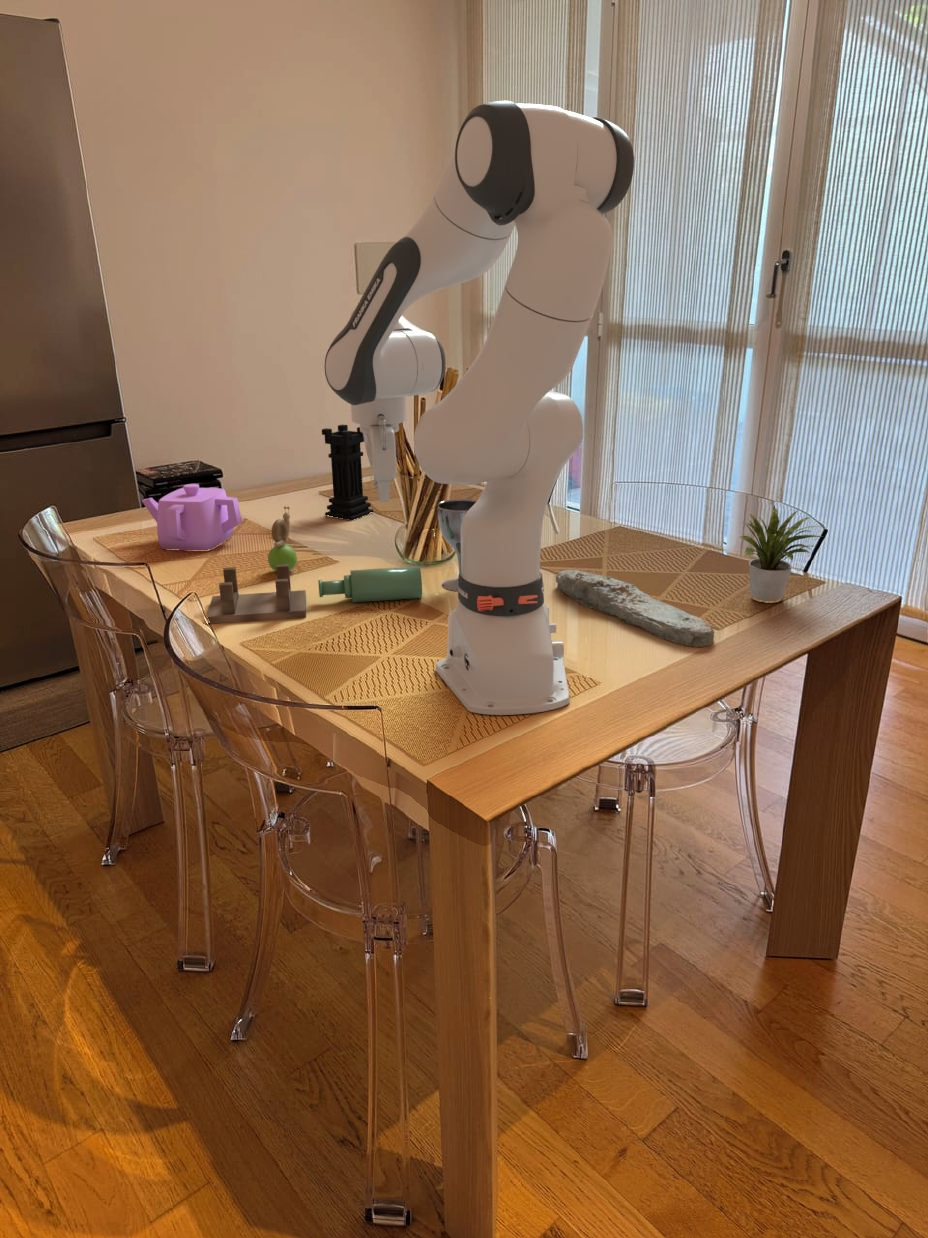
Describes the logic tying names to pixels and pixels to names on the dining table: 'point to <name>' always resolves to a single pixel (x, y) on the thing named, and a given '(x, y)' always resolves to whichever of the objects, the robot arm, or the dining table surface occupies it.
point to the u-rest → (256, 600)
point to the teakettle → (194, 517)
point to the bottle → (376, 584)
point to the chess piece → (346, 473)
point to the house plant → (772, 556)
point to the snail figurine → (282, 544)
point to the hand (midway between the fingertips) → (381, 493)
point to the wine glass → (453, 529)
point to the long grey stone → (635, 607)
